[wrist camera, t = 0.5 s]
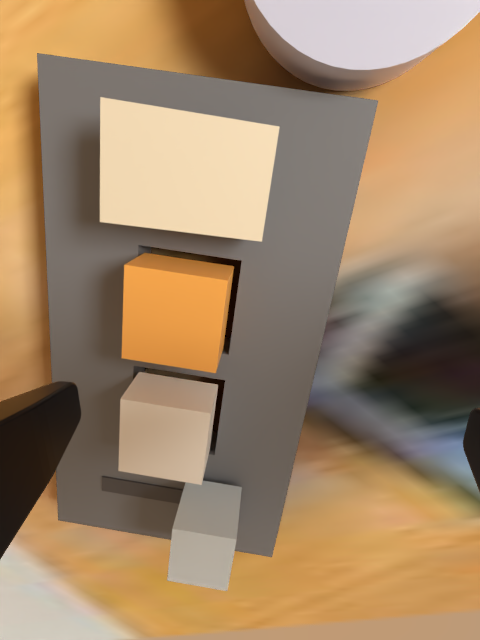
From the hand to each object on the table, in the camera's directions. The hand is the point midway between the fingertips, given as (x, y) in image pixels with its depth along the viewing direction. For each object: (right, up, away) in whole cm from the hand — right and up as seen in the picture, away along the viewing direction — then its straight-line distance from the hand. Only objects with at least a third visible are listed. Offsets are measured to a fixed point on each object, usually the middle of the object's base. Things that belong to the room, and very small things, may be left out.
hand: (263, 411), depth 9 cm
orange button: (-3, +3, +9) cm, 10 cm away
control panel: (-3, +1, +12) cm, 12 cm away
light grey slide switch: (-2, -8, +12) cm, 15 cm away
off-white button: (-4, -3, +11) cm, 12 cm away
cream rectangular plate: (-2, +7, +5) cm, 9 cm away
